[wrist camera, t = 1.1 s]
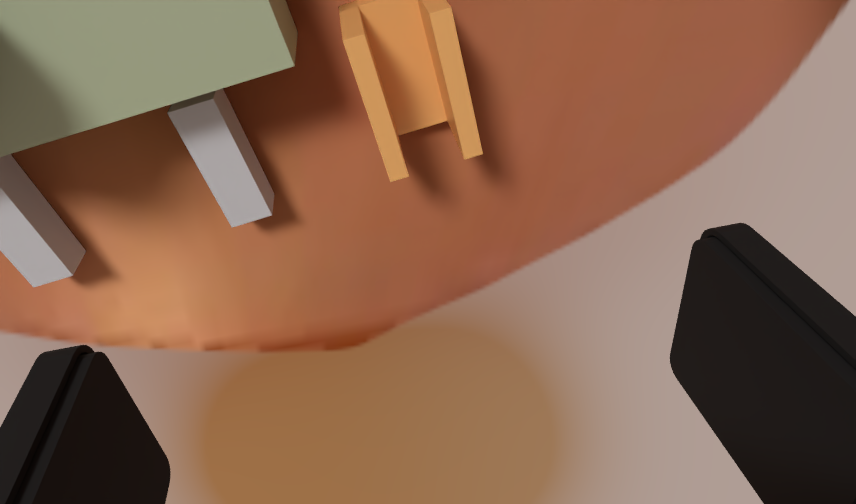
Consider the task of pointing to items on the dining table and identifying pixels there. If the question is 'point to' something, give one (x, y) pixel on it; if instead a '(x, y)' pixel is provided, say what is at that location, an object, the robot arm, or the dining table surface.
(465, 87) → the chute
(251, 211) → the green plate with pegs
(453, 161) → the dining table surface
